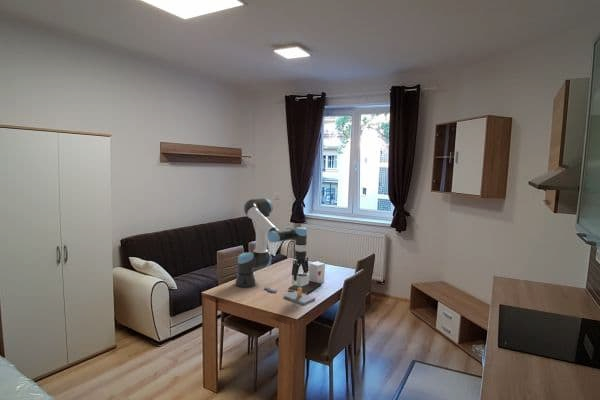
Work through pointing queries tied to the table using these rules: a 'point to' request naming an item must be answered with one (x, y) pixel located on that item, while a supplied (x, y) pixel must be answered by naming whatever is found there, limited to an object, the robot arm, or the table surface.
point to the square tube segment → (301, 279)
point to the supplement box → (316, 272)
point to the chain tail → (270, 290)
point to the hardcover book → (306, 287)
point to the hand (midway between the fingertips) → (300, 283)
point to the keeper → (299, 297)
